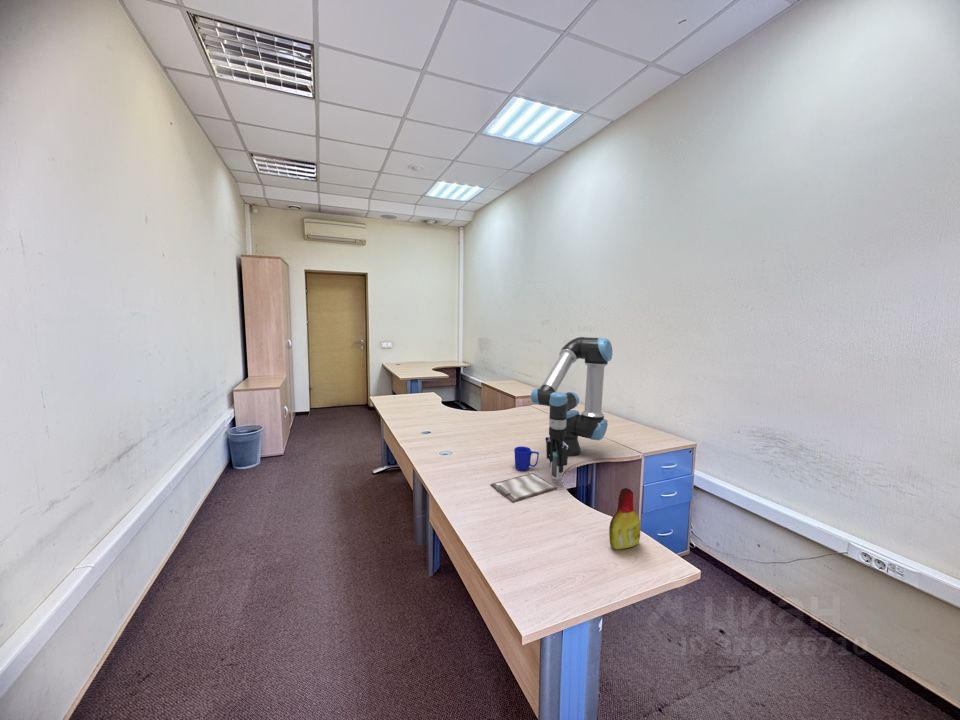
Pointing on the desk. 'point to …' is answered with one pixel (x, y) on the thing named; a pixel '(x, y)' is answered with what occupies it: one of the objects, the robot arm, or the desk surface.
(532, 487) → the clipboard
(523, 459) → the mug
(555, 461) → the marker
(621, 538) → the bottle
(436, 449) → the desk surface
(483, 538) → the desk surface
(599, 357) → the robot arm
